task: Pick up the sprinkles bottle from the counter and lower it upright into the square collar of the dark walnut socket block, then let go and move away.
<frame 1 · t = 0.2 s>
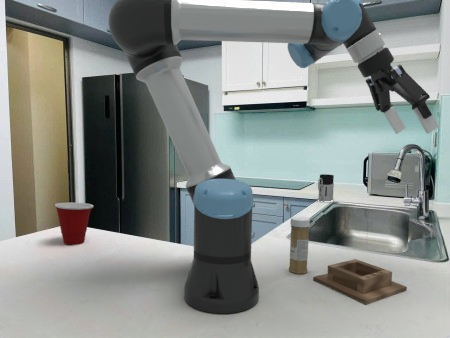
hand: (415, 130, 84), 35 cm above the worktop, tool tilted 35°, fingers open, 13 cm apart
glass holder: (323, 202, 193), on the worktop
walnut socket block: (358, 285, 78), on the worktop
plastic cup: (74, 243, 106), on the worktop
sprinkles bottle: (298, 271, 86), on the worktop
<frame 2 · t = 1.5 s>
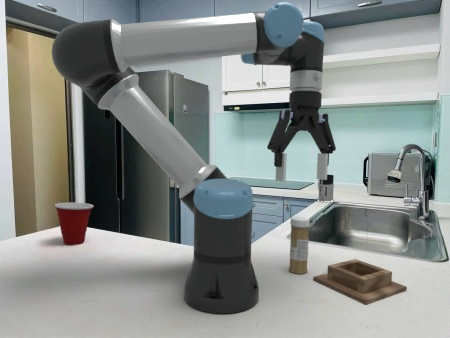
hand: (301, 180, 84), 23 cm above the worktop, tool pointing down, fingers open, 13 cm apart
nothing on the worktop moved.
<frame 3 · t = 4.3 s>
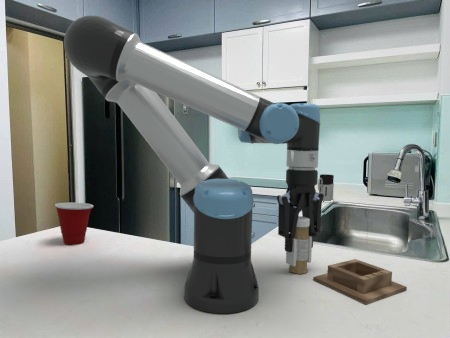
hand: (298, 262, 86), 2 cm above the worktop, tool pointing down, fingers closed on sprinkles bottle, 4 cm apart
sprinkles bottle: (298, 271, 86), on the worktop, touching gripper
everything else where it was.
when the fingers open (5 cm above the worktop, at t = 8.6 s): sprinkles bottle drops 2 cm, resting on walnut socket block.
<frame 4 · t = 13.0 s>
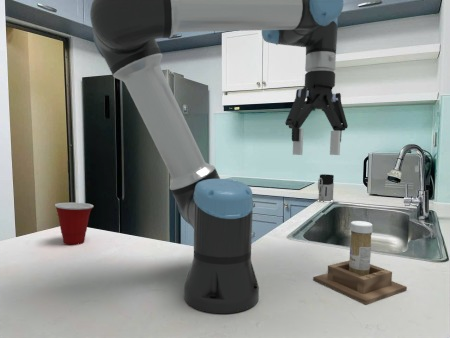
hand: (316, 154, 91), 29 cm above the worktop, tool pointing down, fingers open, 13 cm apart
sprinkles bottle: (358, 282, 78), point 1 cm above the worktop, touching walnut socket block
everything else where it was.
at the end: sprinkles bottle 0.0 cm off-centre on the walnut socket block, point 0.6 cm above the walnut socket block's base; sprinkles bottle tilted 0°; the gripper is holding nothing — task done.
